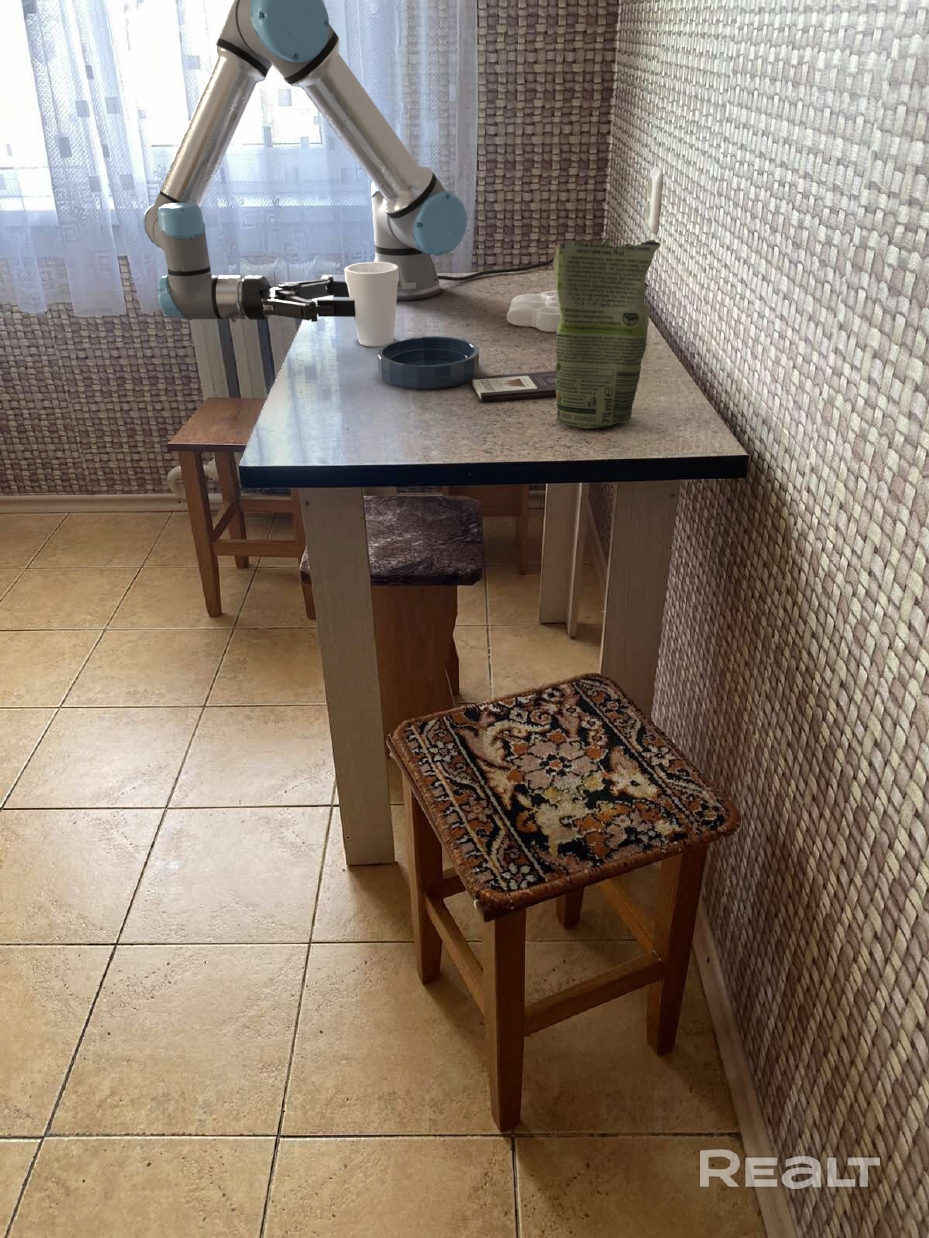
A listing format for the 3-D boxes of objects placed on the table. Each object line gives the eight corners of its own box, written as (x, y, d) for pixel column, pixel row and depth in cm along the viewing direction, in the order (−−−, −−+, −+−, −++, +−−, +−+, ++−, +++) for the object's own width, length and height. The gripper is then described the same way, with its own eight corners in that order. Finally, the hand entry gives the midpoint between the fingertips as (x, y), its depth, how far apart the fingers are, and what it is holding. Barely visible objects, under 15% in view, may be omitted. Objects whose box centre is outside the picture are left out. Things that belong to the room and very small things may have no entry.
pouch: (539, 417, 139) (544, 238, 125) (597, 399, 145) (608, 226, 131) (592, 439, 131) (604, 251, 118) (651, 419, 137) (668, 238, 124)
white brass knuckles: (513, 306, 192) (585, 308, 191) (505, 331, 177) (583, 333, 176) (513, 289, 190) (586, 290, 189) (505, 313, 175) (584, 314, 174)
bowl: (442, 353, 166) (441, 330, 164) (499, 377, 155) (499, 353, 153) (360, 372, 158) (358, 348, 156) (414, 398, 147) (413, 373, 145)
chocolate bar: (595, 386, 147) (482, 395, 144) (594, 392, 147) (482, 401, 145) (578, 369, 154) (471, 377, 152) (578, 374, 155) (471, 383, 152)
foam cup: (394, 350, 168) (390, 274, 161) (344, 348, 170) (338, 273, 163) (406, 335, 176) (403, 262, 169) (359, 333, 178) (353, 261, 171)
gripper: (266, 301, 183) (374, 302, 182) (229, 338, 162) (350, 339, 161) (261, 261, 179) (371, 261, 177) (222, 293, 158) (347, 294, 157)
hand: (361, 298), depth 169 cm, fingers open, 13 cm apart
